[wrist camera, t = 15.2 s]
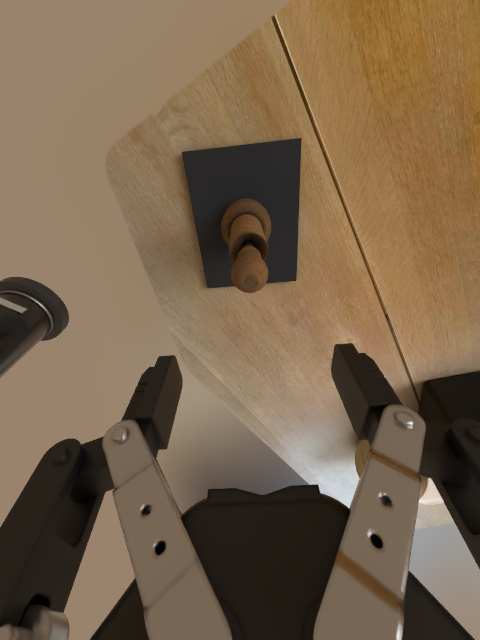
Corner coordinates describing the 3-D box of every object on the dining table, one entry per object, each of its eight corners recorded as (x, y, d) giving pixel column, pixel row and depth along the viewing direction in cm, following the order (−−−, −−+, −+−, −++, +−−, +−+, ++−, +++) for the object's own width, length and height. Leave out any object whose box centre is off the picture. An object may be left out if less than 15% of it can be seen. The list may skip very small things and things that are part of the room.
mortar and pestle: (279, 225, 34) (310, 283, 19) (245, 257, 36) (248, 330, 22) (246, 186, 31) (252, 217, 16) (211, 223, 34) (189, 279, 19)
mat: (208, 285, 40) (207, 288, 39) (183, 152, 30) (181, 152, 29) (295, 278, 39) (296, 280, 39) (299, 138, 29) (301, 138, 28)
